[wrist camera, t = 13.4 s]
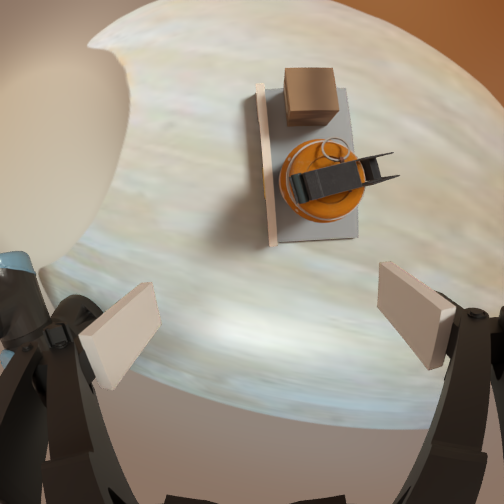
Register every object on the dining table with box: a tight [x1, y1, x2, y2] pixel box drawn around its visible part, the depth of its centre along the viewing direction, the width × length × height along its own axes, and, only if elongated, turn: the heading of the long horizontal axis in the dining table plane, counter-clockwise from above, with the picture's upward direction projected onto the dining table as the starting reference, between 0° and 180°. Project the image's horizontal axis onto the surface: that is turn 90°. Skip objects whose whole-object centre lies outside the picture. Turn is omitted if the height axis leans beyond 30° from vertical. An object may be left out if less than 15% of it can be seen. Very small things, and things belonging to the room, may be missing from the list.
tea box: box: [283, 68, 339, 127], centre depth 33 cm, size 6×6×9 cm
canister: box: [279, 136, 400, 223], centre depth 30 cm, size 9×11×20 cm
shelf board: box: [255, 83, 358, 247], centre depth 38 cm, size 14×24×4 cm, turn 5°
